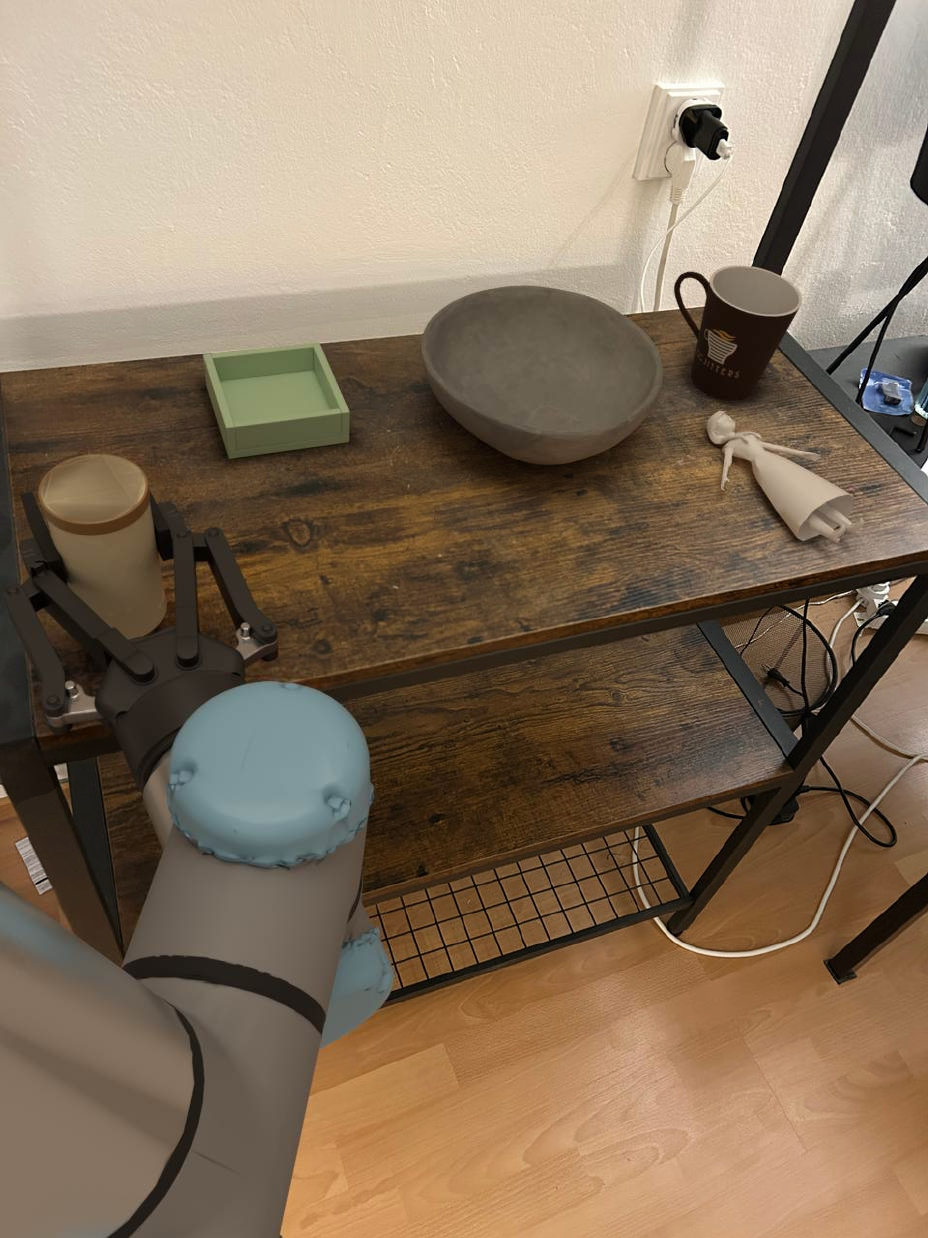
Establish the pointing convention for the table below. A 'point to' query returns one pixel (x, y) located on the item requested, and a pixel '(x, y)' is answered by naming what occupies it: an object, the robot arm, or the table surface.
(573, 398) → the bowl
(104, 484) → the tea tin
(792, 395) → the table surface
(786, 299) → the coffee mug
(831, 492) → the woman figurine
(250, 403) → the bin
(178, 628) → the robot arm
